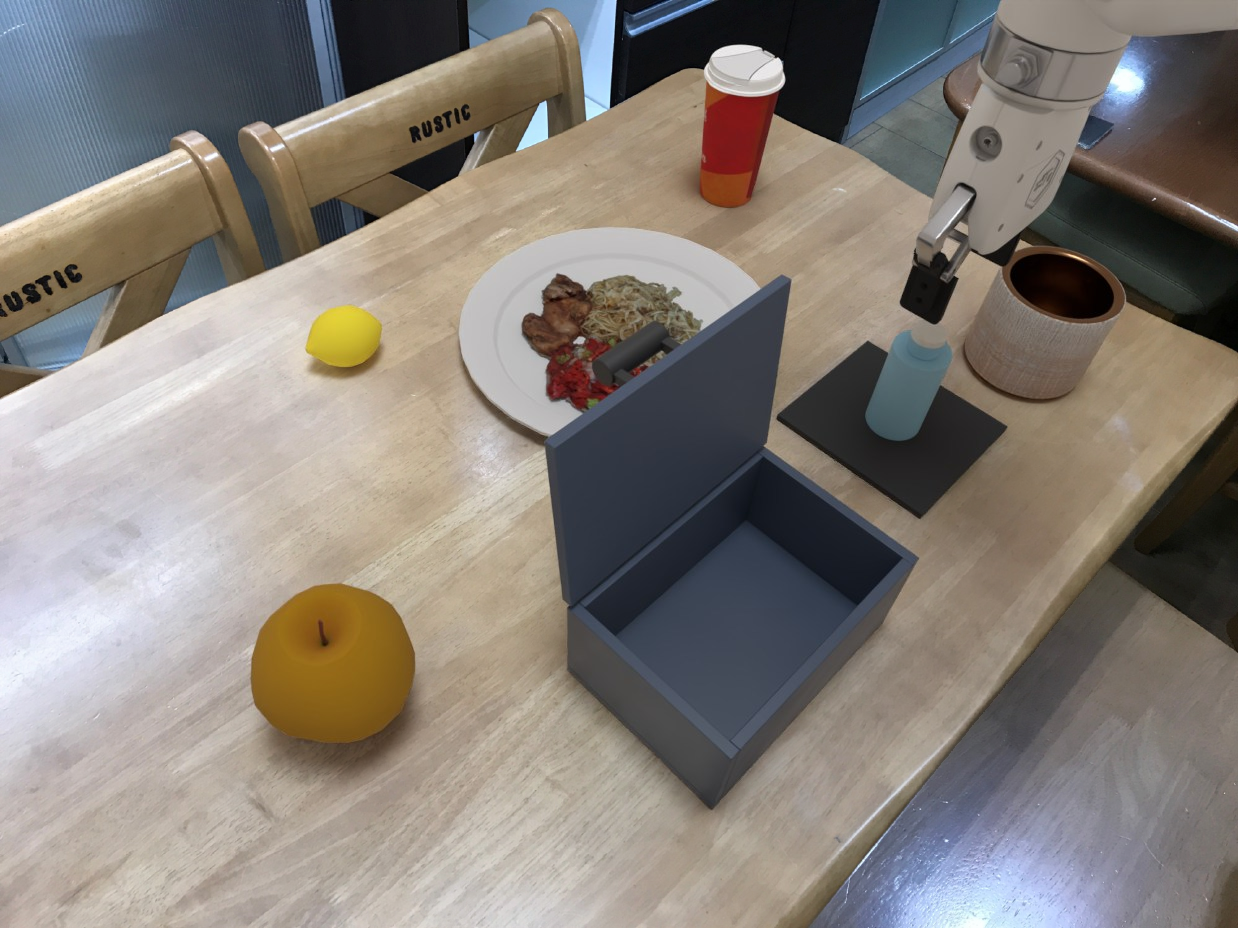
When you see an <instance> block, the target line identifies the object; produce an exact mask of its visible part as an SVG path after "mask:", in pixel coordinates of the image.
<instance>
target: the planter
mask: <svg viewBox="0 0 1238 928" xmlns="http://www.w3.org/2000/svg"><path fill="white" fill-rule="evenodd" d="M1126 303H1127V295H1126V291H1125V289H1124V287H1123V284H1122V283H1121V282H1120V281H1119V279H1118V278H1117V276H1116V275H1115V274H1114V273H1112V271H1110V269H1108V268H1107V267H1105V266H1104V265H1103V264H1101V263H1100V262H1098V261H1096V260H1095V259H1094V258H1091V257H1089V256H1087V255H1085V254H1082V253H1079V252H1077V251H1074V250H1071V249H1068V248H1064V247H1060V246H1059V247H1058V246H1050V245H1031V246H1025V247H1022V248H1019V249H1015V252H1014V254H1013V256H1012V258H1011V260H1010V262H1009V263H1008V264H1007V265H1006V266H1004V267H1001V266H999V267H998V270H997V272H996V275H995V276H994V278H993V280H992V283H991V285H990V287H989V288H988V291H987V293H986V295H985V297H984V299H983V301H982V303H981V305H980V307H979V308H978V311H977V313H976V315H975V316H974V319H973V320H972V323H971V325H970V327H969V328H968V331H967V333H966V337H965V341H964V353H965V357H966V359H967V361H968V363H969V364H970V366H971V367H972V369H973V370H974V371H975V372H976V373H977V374H978V375H979V376H980V377H981V378H982V379H983V380H984V381H985V382H987V383H989V384H990V385H992V386H993V387H995V388H997V389H998V390H1001V391H1003V392H1005V393H1008V394H1010V395H1013V396H1016V397H1021V398H1025V399H1032V400H1033V399H1034V400H1047V399H1048V400H1049V399H1055V398H1058V397H1062V396H1064V395H1066V394H1068V393H1069V392H1071V391H1072V390H1073V389H1074V388H1075V387H1076V386H1078V384H1079V383H1080V381H1081V380H1082V379H1083V377H1084V375H1085V374H1086V372H1087V370H1088V369H1089V367H1090V365H1091V364H1092V362H1093V360H1094V359H1095V357H1096V355H1097V354H1098V352H1099V351H1100V349H1101V347H1102V346H1103V344H1104V342H1105V340H1106V339H1107V338H1108V336H1109V334H1110V333H1111V331H1112V329H1113V328H1114V326H1115V324H1116V323H1117V321H1118V319H1119V318H1120V317H1121V315H1122V313H1123V311H1124V310H1125V307H1126Z"/></svg>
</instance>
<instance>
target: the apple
mask: <svg viewBox="0 0 1238 928" xmlns="http://www.w3.org/2000/svg"><path fill="white" fill-rule="evenodd" d="M250 662H251V664H250V689H251V694H252V699H253V703H254V706H255V708H256V709H257V710H258V711H259V712H260V714H261V715H262V716H263V717H264V719H265V720H266V721H267V722H268V723H269V724H270V725H271V726H272V727H273V728H275V729H276V730H278V731H280V732H281V733H283V734H285V735H286V736H288V737H291V738H296V739H302V740H307V741H313V742H320V743H327V744H329V743H330V744H334V743H335V744H350V743H354V742H358V741H363V740H365V739H367V738H369V737H371V736H373V735H375V734H377V733H379V732H381V731H383V730H384V729H385V728H386V727H387V726H388V725H389V724H391V722H392V721H393V720H394V719H395V718H396V717H397V716H398V715H399V714H400V713H401V712H402V711H403V709H404V706H405V704H406V701H407V698H408V697H409V694H410V691H411V689H412V686H413V681H414V678H415V673H416V651H415V649H414V645H413V643H412V640H411V637H410V635H409V633H408V631H407V628H406V626H405V624H404V620H403V619H402V616H401V615H400V614H399V612H398V611H397V609H396V608H395V607H394V605H393V604H392V603H391V602H389V601H387V600H386V599H384V598H383V597H381V596H380V595H378V594H376V593H374V592H372V591H370V590H367V589H363V588H359V587H356V586H352V585H348V584H345V583H340V582H339V583H323V584H316V585H313V586H311V587H309V588H307V589H304V590H302V591H301V592H299V593H296V594H294V595H293V596H292V597H291V598H289V599H288V600H287V601H285V603H283V604H282V605H281V606H280V607H278V609H276V610H275V611H274V612H272V614H271V615H270V616H269V617H268V618H267V619H266V621H265V622H264V624H263V625H262V626H261V627H260V629H259V631H258V634H257V638H256V642H255V644H254V648H253V651H252V655H251V659H250Z"/></svg>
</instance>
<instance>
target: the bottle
mask: <svg viewBox="0 0 1238 928" xmlns="http://www.w3.org/2000/svg"><path fill="white" fill-rule="evenodd" d="M948 338H949V332H948V329H947V328H946V327H945V325H943V324H942V323H940V322H939V323H937V324H936V325H933V324H931V323H929V322H927V321H926V320H924V319H920V320H917V321H915V322H914V323H913V325H912V327H911V329H907V330H904V331H902V332H899V333H898V334H896V336H895V337H894V338H893V341H892V343H891V346H890V348H889V351H888V352H887V353H888V356H887V358H886V361H885V364H884V366H883V369H882V371H881V374H880V377H879V379H878V382H877V384H876V387H875V390H874V392H873V395H872V397H871V400H870V402H869V405H868V408H867V410H866V414H865V417H866V421H867V424H868V425H869V427H870V428H871V429H872V430H873V431H874V432H875V433H876V434H878V435H879V436H881V437H883V438H886V439H889V440H895V441H903V440H908V439H910V438H912V437H914V436H915V435H916V434H917V433H918V431H919V429H920V427H921V425H922V423H923V421H924V419H925V416H926V414H927V412H928V410H929V408H930V406H931V404H932V401H933V399H934V397H935V395H936V393H937V391H938V389H939V387H940V385H942V382H943V380H944V378H945V377H946V376H945V375H946V373H947V372H948V370H949V367H950V365H951V363H952V361H953V355H954V354H953V350H952V348H951V346H950V345H949V344H948V342H947V341H948Z"/></svg>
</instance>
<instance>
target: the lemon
mask: <svg viewBox="0 0 1238 928" xmlns="http://www.w3.org/2000/svg"><path fill="white" fill-rule="evenodd" d="M382 330H383V325H382V323H381V321H380V320H379V319H378V318H376V317H375V316H374V315H373V314H372V313H370V312H369V311H367V310H365V309H364V308H362V307H358V306H356V305H352V304H347V305H341V306H336V307H332V308H328V309H326V310H325V311H324V312H322V313H321V314H319V315H318V316H317V317H316V318H315V320H314V321H312V324H311V326H310V329H309V333H308V335H307V336H308V337H307V341H306V344H305V347H304V349H305V351H306V354H308V355H311V356H312V357H313V358H316V359H318V360H320V361H321V362H323V363H325V364H327V365H328V366H332V367H333V366H334V367H339V368H352V367H355V366H358V365H360V364H363V363H365V362H366V361H367V360H368V359H370V358H371V357H372V355H373V354H374V353H376V351H377V350H378V349H379V345H380V342H381V337H382Z"/></svg>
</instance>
